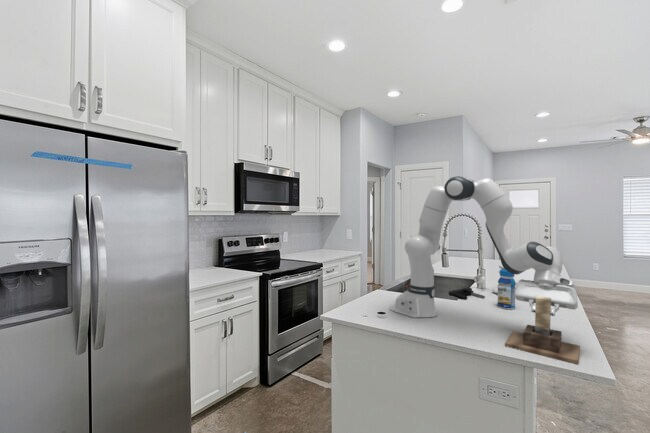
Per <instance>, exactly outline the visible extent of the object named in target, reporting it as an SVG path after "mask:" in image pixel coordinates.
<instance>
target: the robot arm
mask: <svg viewBox="0 0 650 433" xmlns="http://www.w3.org/2000/svg"><path fill="white" fill-rule="evenodd" d="M471 199H474V201H476V203H477V204H478V205H479V206H480V208H481V210H482V211H483V214H484V217H485V228H486V230H487V233H488V235H489V237H490V239H491V241H492V243H493V246H494V248H495V250H496V252H497V254H498V256H499V260H500V263H501V267H503V268H504V269H505V270H506V271H508V272H510V273H512V274H514V275H520V274H522V273H524V272H526V271H527V270H530V269H533V270H534V274H533V275H534V276H533V280H526V279H520V280H516V281H515V283H516V285H515V287H516V289H515V292H514V296H515V301H520V302H525V303H526V302H527V303H529V306H530V309H531V310H530V312H531V313H535V309H536V305H534V304H536V297H537V296H539V297H546V298H551V307H554V308H553V309H552V308H551V309H550V315H551V316H552V317H555V316H556V312H558V311H559V310H560V308H563V309H567V310H577V309H578V303H579V302H578V294H577V290H576V288H575V283H574V281H573V280H571V279H568V278H565V277H562V276H561V273H562V271H563V257H562V254H561V252H560V250H559V249H557V248H556V247H554V246H547V245H546V246H545V245H543V244H542V243H540V242H536V241H529V242H526V243H524V244H522V245H520V246H518V247H516V248H514V249H513V248H512V247H511V245H510V243H509V241H508V239H507V237H506V235H505V232H504V231H505V230H504V229H505V228H504V227H505V226H506V223H507V222H508V220H509V219H510V217H511V215H512V213H513V208H514V207H513V203H512V201H511V200H510V198H509V197H508V196H507V194H506V193H505V192H504V190H503V189H502V188H501V187H500V186H499V185H498V184H497V183H496V182H495V180H493V179H492V178H488V177H487V178H481V179H479V180H478V181H474V180H473V179H471V178H468V177H466V176H460V175H459V176H456V175H455V176H453V177H450V178H449V179H448V180H447V181H446V182H445V184H444V186H442V185H435V186H433V187H432V188H431V190H430V191H429V193H428V195H427V197H426V199H425V201H424V205H423V207H422V211H421V213H420V216H419V220H418V223H419V228H418V234H417V235H413V236H411V237H410V238H409V239H407V241H406V242H405V243H404V251H405V253H406V254H407V256H408V262H409V267H410V282H409V283H408V284H407V285H405V288H406V290H405V291H403V292H402V293H401V294H399V295H398V296H397V297H396V299H395V301H394V304H393V305H391V306H390V311H392V312H395V313H398V314H401V315H404V316H407V317H411V318H414V319H415V318H433V317H436V316H437V314H438V313H437V310H436V305H435V295H436V292H435V291H436V289H435V284H434V283H435V269H434V267H433V264H432V260H431V259H432V257H431V256H433V255H435V254H436V252H437V251H438V250H439V249H440V247H441V246H440V243H441V242H440V240H441V233H442V228H443V226H444V225H443V224H444V222H445V219H446V216H447V213H448V210H449V208H450V204H451V203H452V202H454V201H458V202H465V201H470V200H471Z"/></svg>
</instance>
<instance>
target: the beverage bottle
mask: <svg viewBox="0 0 650 433" xmlns="http://www.w3.org/2000/svg"><path fill="white" fill-rule="evenodd" d="M499 271H500V273H499V276H501V277H499V279H498V280H497V283H498V284H499V285H498V284H497V285H498V294H497V302H496V303H497V307H498V308H500V309H503V310H509V311H510V310H514V309H516V298H515V296H514V292H515V289H516V281H515V279H514V277H515V274H512V273H510V272H508V271H506V270H505V269H501V268H499Z"/></svg>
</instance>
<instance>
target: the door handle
mask: <svg viewBox="0 0 650 433" xmlns="http://www.w3.org/2000/svg"><path fill="white" fill-rule="evenodd" d="M448 295H449V296H450V297H454V298H458V299H461V300H465V301H466V300H467V299H468V297H470V296H472V297H475V298H478V299H485V298H486V296H485V295H482V294H479V293H476V292H474V291H473V289H472V287H464V288H463V287H462V288H458V289H454V290H449V291H448Z"/></svg>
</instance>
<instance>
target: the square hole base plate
mask: <svg viewBox="0 0 650 433" xmlns="http://www.w3.org/2000/svg"><path fill="white" fill-rule="evenodd" d="M562 335H563V334H562V331H561V330H555V329H551V328H550V335H545V334H540V333H536V332H535V325H531V324H527V325H526V327H525V328H524V330H523V332H519V331H514V330H513V331H512V332H511V333H510V334H509V336H508V338H507V339H506V341H505V342H504V347H507V346H509V347H508V348H511V347H512V348H511V349H515V348H516V349H515V350H519V349H520V350H519V351H522V352H527V353H531V354H535V355H538V356H543V357H547V358H552V359H555V360H559V361H564V362H566V363H571V364H576V365H579V360H580V359H579V358H580V351H581V350H580V349H581V345H578V344H574V343H571V342H570V343H568V342H566V341H562Z"/></svg>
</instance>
